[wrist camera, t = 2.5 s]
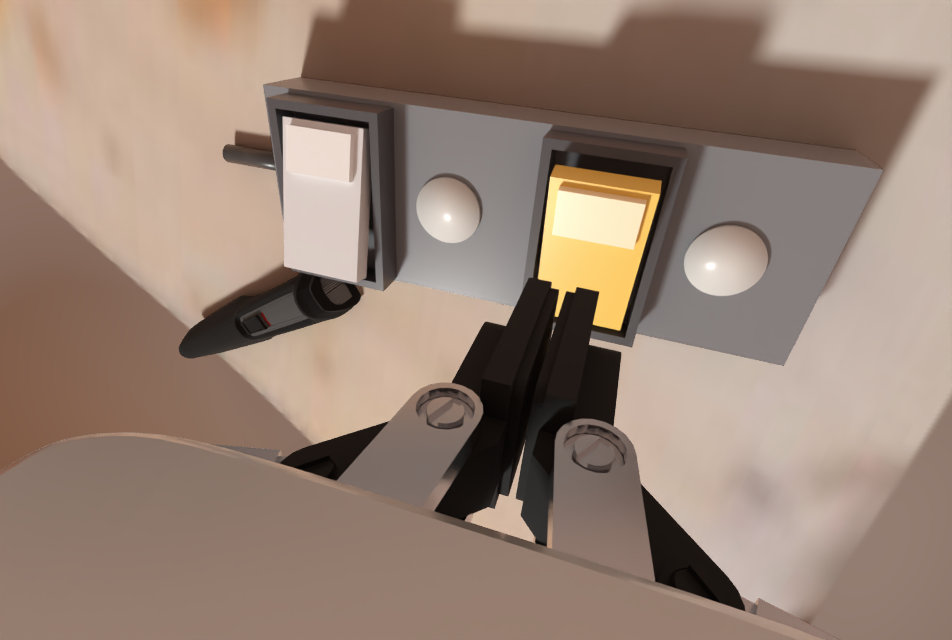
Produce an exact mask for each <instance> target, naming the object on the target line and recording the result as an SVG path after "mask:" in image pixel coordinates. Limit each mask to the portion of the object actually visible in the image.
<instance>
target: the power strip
mask: <svg viewBox="0 0 952 640" xmlns="http://www.w3.org/2000/svg"><path fill="white" fill-rule="evenodd" d="M263 87H264V94H265V101H266V107H267V114H268V121H269V128H270V134H271V141H272V148H273V152H272V151H266V150H260V149H254V148H248V147H242V146H236V145H230V144H227V145H226V146H225V147H224V149H223V157H224V159H225V160H226V161H227V162H231V163H236V164H242V165H247V166H253V167H259V168H264V169H270V170H275V171H276V175H277V182H278V188H279V195H280V202H281V209H282V215H283V222H284V202H283V116H284V117H297V118H303V119H310V120H317V121H323V122H330V123H336V124H343V125H350V126H356V127H363V128H369V136H370V158H371V198H370V217H369V236H368V255H367V274H366V278H365V279H363V280H361V281H359V282H357V283H355V282H351V281H346V280H342V279H337V278H333V277H328V276H324V275H319V274H315V273H311V272H306V271H302V270H297V269H293V268H291V270H292V271H296V272H301V273H305V274H310V275H314V276H319V277H323V278H327V279H332V280H336V281H341V282H345V283H350V284H354V285H358V286H363V287H367V288H372V289H376V290H381V291H384V290H385V289H386V288H387V287H388V286H389V285H390V284H391V283H392V282H393V281H394V280H395V281H400V282H405V283H409V284H414V285H418V286H423V287H427V288H432V289H436V290H441V291H445V292H450V293H455V294H459V295H464V296H468V297H473V298H477V299H482V300H486V301H491V302H496V303H500V304H505V305H509V306H514V307H515V306H516V304H517V302H518V300H519V298H520V295H521V293H522V291H523V289H524V287H525V285H526V283H527V280H528V279H529V277H530V278H535V279H538V275H539V267H540V258H541V250H542V242H543V233H544V225H545V216H546V208H547V200H548V191H549V183H550V176H551V174H552V171H553V169H554V167H555V165H562V166H569V167H575V168H582V169H588V170H594V171H601V172H607V173H614V174H620V175H627V176H633V177H640V178H646V179H653V180H659V181H662V183H661V191H660V196H659V200H658V203H657V207H656V210H655V213H654V217H653V220H652V224H651V227H650V230H649V234H648V237H647V241H646V244H645V247H644V251H643V254H642V258H641V261H640V264H639V268H638V271H637V275H636V278H635V281H634V285H633V288H632V291H631V295H630V298H629V302H628V305H627V308H626V312H625V315H624V319H623V322H622V325H621V329H620V331H619V330H615V329H610V328H606V327H601V326H596V325H593V326H592V331H591V336H590V338H593V339H597V340H602V341H606V342H611V343H615V344H619V345H624V346H628V347H632V345H633V342H634V338H635V335H636V333H637V334H641V335H646V336H650V337H655V338H659V339H664V340H668V341H673V342H677V343H682V344H687V345H691V346H696V347H700V348H705V349H709V350H714V351H718V352H723V353H727V354H732V355H737V356H741V357H746V358H750V359H755V360H759V361H764V362H768V363H773V364H778V365H782V366H784V364H785V362H786V360H787V358H788V356H789V354H790V352H791V350H792V348H793V346H794V345H795V343H796V341H797V339H798V337H799V335H800V333H801V331H802V329H803V327H804V325H805V323H806V321H807V319H808V317H809V315H810V313H811V311H812V309H813V307H814V305H815V303H816V301H817V299H818V298H819V296H820V294H821V292H822V290H823V288H824V286H825V284H826V282H827V280H828V278H829V276H830V274H831V272H832V270H833V268H834V266H835V264H836V262H837V260H838V258H839V256H840V254H841V252H842V251H843V249H844V247H845V245H846V243H847V241H848V239H849V237H850V235H851V233H852V231H853V229H854V227H855V225H856V223H857V221H858V219H859V217H860V215H861V213H862V211H863V209H864V207H865V205H866V204H867V202H868V200H869V198H870V196H871V194H872V192H873V190H874V188H875V186H876V184H877V182H878V180H879V178H880V176H881V174H882V172H883V169H882V168H880V167H879V166H878V165H876V164H875V163H874V162H872V161H871V160H870V159H868V158H867V157H866V156H864V155H863V154H861V153H860V152H859V151H857V150H849V149H842V148H834V147H826V146H819V145H811V144H804V143H796V142H788V141H781V140H773V139H766V138H758V137H750V136H743V135H735V134H728V133H720V132H712V131H705V130H697V129H690V128H682V127H674V126H667V125H659V124H652V123H644V122H636V121H629V120H621V119H614V118H606V117H598V116H591V115H583V114H576V113H568V112H560V111H553V110H545V109H538V108H530V107H522V106H515V105H507V104H500V103H492V102H484V101H477V100H469V99H462V98H454V97H446V96H439V95H431V94H424V93H416V92H408V91H401V90H393V89H386V88H378V87H370V86H363V85H355V84H347V83H340V82H332V81H325V80H317V79H309V78H302V77H299V78H294V79H289V80H284V81H279V82H274V83H269V84H264V85H263ZM557 318H558V317H556V316H555V318H554V323H553V330H554V328H555V325H556V321H557Z"/></svg>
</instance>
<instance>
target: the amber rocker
mask: <svg viewBox="0 0 952 640" xmlns="http://www.w3.org/2000/svg"><path fill="white" fill-rule="evenodd" d="M661 183H662V181H659V180H653V179H646V178H640V177H633V176H627V175H620V174H614V173H607V172H601V171H594V170H588V169H582V168H575V167H569V166H562V165H555V167H554V169H553V171H552V174H551V176H550V183H549V191H548V200H547V208H546V216H545V225H544V233H543V242H542V250H541V258H540V267H539V275H538V279H540V280H545V281H550V282H552V287H551V288H554V289H559V296H558V301H557V307H556V312H555V316H556V317H558V315H559V312H560V309H561V306H562V303H563V300H564V296H565V293H566V291H569V292H574V293H575V291H576V287H580V288H584V289H589V290H594V291H599V297H598V302H597V307H596V312H595V316H594V321H593V325H596V326H601V327H606V328H610V329H615V330H619V331H620V329H621V325H622V322H623V319H624V315H625V312H626V308H627V305H628V302H629V298H630V295H631V291H632V288H633V285H634V281H635V278H636V275H637V271H638V268H639V264H640V261H641V258H642V254H643V251H644V247H645V244H646V241H647V237H648V234H649V230H650V227H651V224H652V220H653V217H654V213H655V210H656V207H657V203H658V200H659V196H660V191H661Z"/></svg>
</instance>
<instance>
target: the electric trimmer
mask: <svg viewBox="0 0 952 640" xmlns="http://www.w3.org/2000/svg"><path fill="white" fill-rule="evenodd" d="M360 298H361V296H360V293H359V291H358V289H357V288H356V286H355V285H354V284H350V283H345V282H341V281H336V280H332V279H327V278H323V277H319V276H314V275H310V274H305V273H300V274H299V275H298V276H297V277H295V278H293V279H291V280H289V281H287V282H285V283H283V284H281V285H279V286H277V287H276V288H274V289H272V290H269V291H267V292H265V293H263V294H260V295H257V296H255V297H252V298H251V297H248V296H241V297H239V298H237V299H235V300H233V301H232V302H230V303H229V304H227V305H225V306H224V307H222V308H221V309H219V310H218V311H216V312H215V313H213V314H211V315H210V316H208V317H207V318H205V319H204V320H202V321H200V322H199V323H198V324H196V325H195V326H194V327H192V328H191V329H190V330H189V332H188V333H187V334H186V336H185V337H184V339H183V341H182V342H181V344H180V346H179V352H180V354H181V355H182V356H184V357H186V358H197V357H201V356H206V355H212V354H217V353H221V352H225V351H229V350H233V349H236V348H240V347H244V346H247V345H251V344H255V343H259V342H262V341H265V340H269V339H271V338H272V337H274V336H276V335H280V334H283V333H287V332H290V331H294V330H297V329H301V328H304V327H307V326H310V325H313V324H316V323H319V322H322V321H326V320H330V319H334V318H337V317H339V316H341V315H343V314H345V313H346V312H347V311H349V310H350V309H351V308H352V307H353V306H354V305H356V304H357V303H358V302H359V301H360Z"/></svg>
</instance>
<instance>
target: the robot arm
mask: <svg viewBox="0 0 952 640" xmlns="http://www.w3.org/2000/svg"><path fill="white" fill-rule="evenodd" d="M551 287H552V282H550V281H545V280H540V279H535V278H530V277H529V279H528V280H527V283H526V285H525V287H524V289H523V291H522V293H521V295H520V298H519V300H518V302H517V304H516V306H515V308H514V310H513V313H512V315H511V317H510V319H509V321H508V323H507V325H506V326H503V325H499V324H494V323H490V322H485V323H484V324H483V326H482V327H481V329H480V331H479V333H478V335H477V337H476V339H475V340H474V342H473V344H472V346H471V348H470V350H469V352H468V353H467V355H466V357H465V359H464V361H463V363H462V365H461V366H460V368H459V370H458V372H457V374H456V376H455V377H454V379H453V381H452V383H436V384H431V385H428V386H426V387H423V388H421V389H420V390H418V391H417V392H416V393H415V394H413V395H412V397H411V398H410V399H409V400H408V401H407V402H406V403H405V404H404V406H403V407H402V408H401V409H400V410H399V411H398V412H397V413H396V415H395V416H394V417H393V418H392V419H391V420H390V421H388V422H385V423H382V424H379V425H376V426H372V427H369V428H366V429H363V430H360V431H356V432H353V433H350V434H347V435H343V436H340V437H337V438H334V439H331V440H327V441H324V442H321V443H318V444H315V445H311V446H308V447H305V448H302V449H300V450H298V451H296V452H293V453H292V454H291V455H289V456H288V457H285V456H282V455H281V451H280V450H272V449H261V448H250V447H238V446H227V445H215V444H207V443H203V442H198V441H194V440H190V439H184V438H179V437H173V436H167V435H159V434H144V433H130V432H129V433H102V434H93V435H85V436H79V437H74V438H69V439H65V440H62V441H59V442H55V443H52V444H49V445H47V446H45V447H43V448H41V449H38V450H36V451H34V452H32V453H30V454H28V455H26V456H25V457H23V458H21V459H19V460H17V461H16V462H14V463H12V464H10V465H9V466H7V467H5V468H4V469H2V470H0V640H839V639H837V638H835V637H834V636H832V635H830V634H828V633H826V632H824V631H822V630H820V629H818V628H816V627H814V626H812V625H810V624H808V623H806V622H804V621H802V620H800V619H799V618H797V617H795V616H793V615H791V614H789V613H787V612H785V611H783V610H781V609H779V608H777V607H775V606H773V605H771V604H769V603H767V602H765V601H763V600H761V599H760V598H758V599H757V601H756V602H755V604H754V603H752V602H751V601H749V600H747V599H745V598H743V597H741V596H740V594H739V592H738V590H737V589H736V587H735V586H734V585H733V583H732V582H731V581H730V579H729V578H728V577H727V576H726V574H725V573H724V572H723V571H722V570H721V569H720V568H719V567H718V566H717V565H716V564H715V563H714V562H713V561H712V559H711V558H710V557H709V556H708V555H707V554H706V553H705V552H704V551H703V550H702V549H701V548H700V547H699V546H698V544H697V543H696V542H695V541H694V540H693V539H692V538H691V537H690V536H689V535H688V534H687V533H686V532H685V531H684V529H683V528H682V527H681V526H680V525H679V524H678V523H677V522H676V521H675V520H674V519H673V518H672V517H671V516H670V514H669V513H668V512H667V511H666V510H665V509H664V508H663V507H662V506H661V505H660V504H659V503H658V502H657V501H656V500H655V498H654V497H653V496H652V495H651V494H650V493H649V492H648V491H647V490H646V489H645V488H644V487H643V486H642V485H641V483H640V476H639V469H638V463H637V456H636V452H635V449H634V446H633V444H632V443H631V441H630V440H629V439H628V437H627V436H626V435H625V434H624V433H623V432H621V431H620V430H619V429H618V428H616V427H614V417H615V408H616V398H617V389H618V380H619V371H620V362H621V352H618V351H614V350H609V349H605V348H601V347H596V346H592V345H589V341H590V336H591V331H592V326H593V321H594V316H595V312H596V307H597V302H598V297H599V291H594V290H589V289H584V288H580V287H576V291H575V293H574V292H569V291H566V293H565V296H564V300H563V303H562V306H561V309H560V312H559V315H558V318H557V321H556V325H555V328H554V331H553V334H552V329H553V323H554V318H555V312H556V307H557V301H558V296H559V289H554V288H551ZM551 334H552V337H551ZM525 440H526V441H525ZM524 443H525V447H524ZM523 447H524V453H523V459H522V464H521V470H520V476H519V482H518V488H517V494H516V499H518V500H522V501H523V506H522V511H521V517H522V518H523V520H524V521H525V523H526V524H527V526H528V527H529V529H530V530H531V532H532V533H533V535H534V540H533V542H529V541H526V540H523V539H520V538H517V537H514V536H510V535H507V534H504V533H501V532H498V531H495V530H491V529H488V528H485V527H482V526H479V525H476V524H472V523H471V521H472V518H473V513H475V512H477V511H480V510H482V509H484V508H487V507H490V508H493V509H495V506H496V502H497V499H498V496H499V494H502V495H505V496H508V495H509V493H510V489H511V486H512V483H513V479H514V476H515V473H516V470H517V466H518V463H519V460H520V456H521V453H522V450H523Z"/></svg>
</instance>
